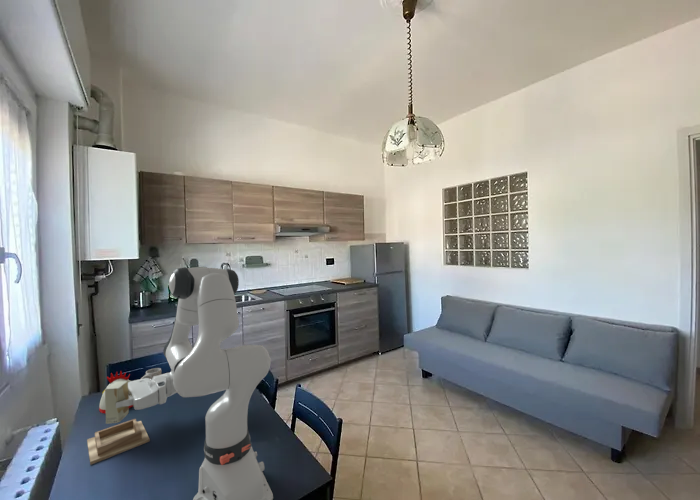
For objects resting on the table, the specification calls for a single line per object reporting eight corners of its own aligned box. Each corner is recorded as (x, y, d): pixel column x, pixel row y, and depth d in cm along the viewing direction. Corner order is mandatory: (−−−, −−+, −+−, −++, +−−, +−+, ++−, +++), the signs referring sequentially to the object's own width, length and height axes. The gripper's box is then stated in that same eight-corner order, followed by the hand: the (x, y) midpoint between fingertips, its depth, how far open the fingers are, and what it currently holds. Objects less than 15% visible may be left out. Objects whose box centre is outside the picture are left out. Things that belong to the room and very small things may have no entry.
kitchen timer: (103, 402, 135) (102, 369, 135) (140, 394, 142) (139, 363, 142) (95, 417, 123) (94, 381, 123) (136, 407, 130) (135, 373, 130)
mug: (155, 379, 158) (155, 367, 157) (164, 381, 155) (164, 368, 155) (136, 388, 148) (135, 375, 148) (145, 390, 146) (145, 376, 146)
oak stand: (149, 441, 107) (149, 431, 107) (90, 464, 96) (89, 454, 95) (141, 423, 118) (140, 414, 118) (87, 442, 107) (86, 432, 107)
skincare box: (119, 423, 104) (117, 388, 104) (105, 424, 103) (103, 389, 103) (129, 412, 110) (128, 380, 110) (116, 414, 110) (115, 381, 109)
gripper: (153, 371, 123) (110, 382, 114) (165, 387, 108) (117, 402, 99) (153, 386, 123) (110, 399, 114) (166, 404, 109) (118, 420, 99)
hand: (114, 400), depth 106 cm, fingers closed on skincare box, 7 cm apart
